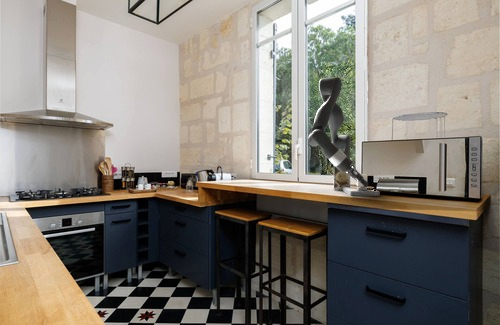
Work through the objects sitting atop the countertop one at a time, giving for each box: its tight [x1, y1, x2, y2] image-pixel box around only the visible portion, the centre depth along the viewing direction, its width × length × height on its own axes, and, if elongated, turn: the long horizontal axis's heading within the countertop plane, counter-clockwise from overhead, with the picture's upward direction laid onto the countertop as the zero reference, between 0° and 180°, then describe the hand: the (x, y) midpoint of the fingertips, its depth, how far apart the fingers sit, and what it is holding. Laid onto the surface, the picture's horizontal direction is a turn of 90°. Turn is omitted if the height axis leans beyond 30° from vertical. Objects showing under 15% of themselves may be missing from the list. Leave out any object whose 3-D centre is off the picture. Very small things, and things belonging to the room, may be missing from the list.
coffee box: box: [333, 165, 351, 191], centre depth 160 cm, size 9×6×16 cm
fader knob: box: [356, 173, 368, 190], centre depth 137 cm, size 4×4×8 cm
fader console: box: [342, 187, 380, 197], centre depth 142 cm, size 21×13×2 cm, turn 171°
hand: (366, 185), depth 137 cm, fingers closed on fader knob, 3 cm apart
